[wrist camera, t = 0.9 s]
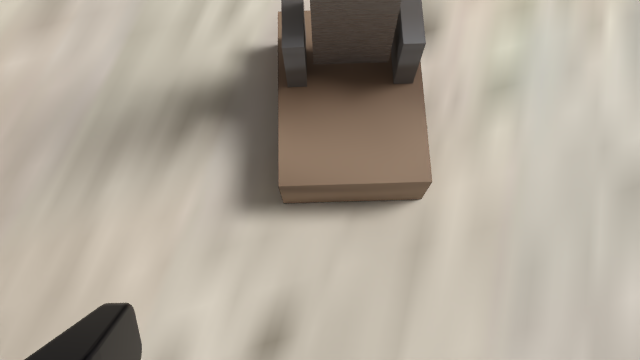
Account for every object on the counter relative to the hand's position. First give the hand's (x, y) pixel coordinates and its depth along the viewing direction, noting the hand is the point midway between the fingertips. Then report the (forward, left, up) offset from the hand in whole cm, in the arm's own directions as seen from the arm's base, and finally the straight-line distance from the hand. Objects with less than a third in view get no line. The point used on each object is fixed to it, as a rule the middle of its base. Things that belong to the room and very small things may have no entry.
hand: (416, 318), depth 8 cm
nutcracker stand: (+9, -4, -13) cm, 17 cm away
